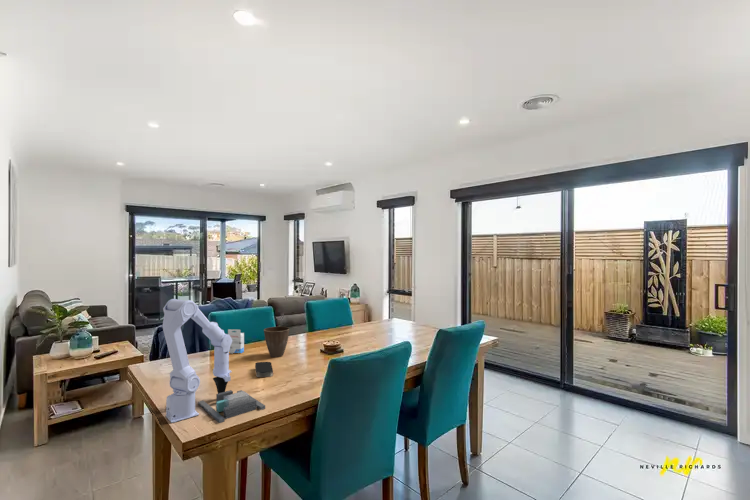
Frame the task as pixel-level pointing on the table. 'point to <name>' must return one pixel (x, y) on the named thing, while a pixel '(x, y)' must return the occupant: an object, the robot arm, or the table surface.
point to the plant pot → (276, 340)
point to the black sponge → (263, 369)
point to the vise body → (232, 409)
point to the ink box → (236, 341)
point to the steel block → (235, 398)
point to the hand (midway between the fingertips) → (221, 394)
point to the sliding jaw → (221, 400)
